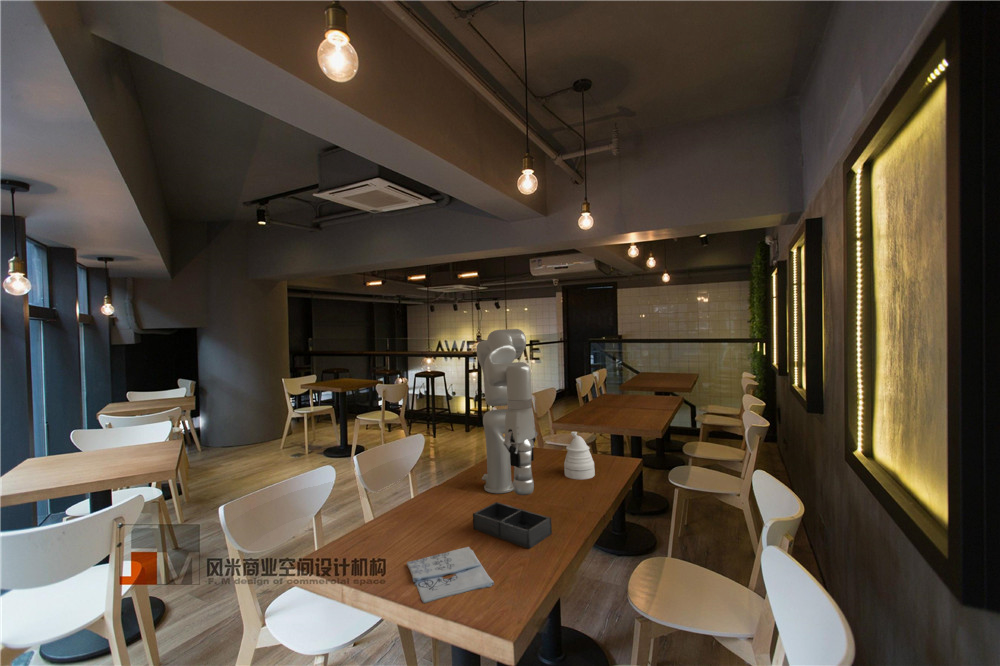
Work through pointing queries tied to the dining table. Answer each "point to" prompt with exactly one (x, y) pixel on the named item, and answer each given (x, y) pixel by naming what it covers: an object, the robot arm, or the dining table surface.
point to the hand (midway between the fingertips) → (522, 462)
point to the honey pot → (578, 460)
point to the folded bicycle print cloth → (437, 566)
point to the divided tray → (512, 524)
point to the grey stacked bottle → (524, 470)
